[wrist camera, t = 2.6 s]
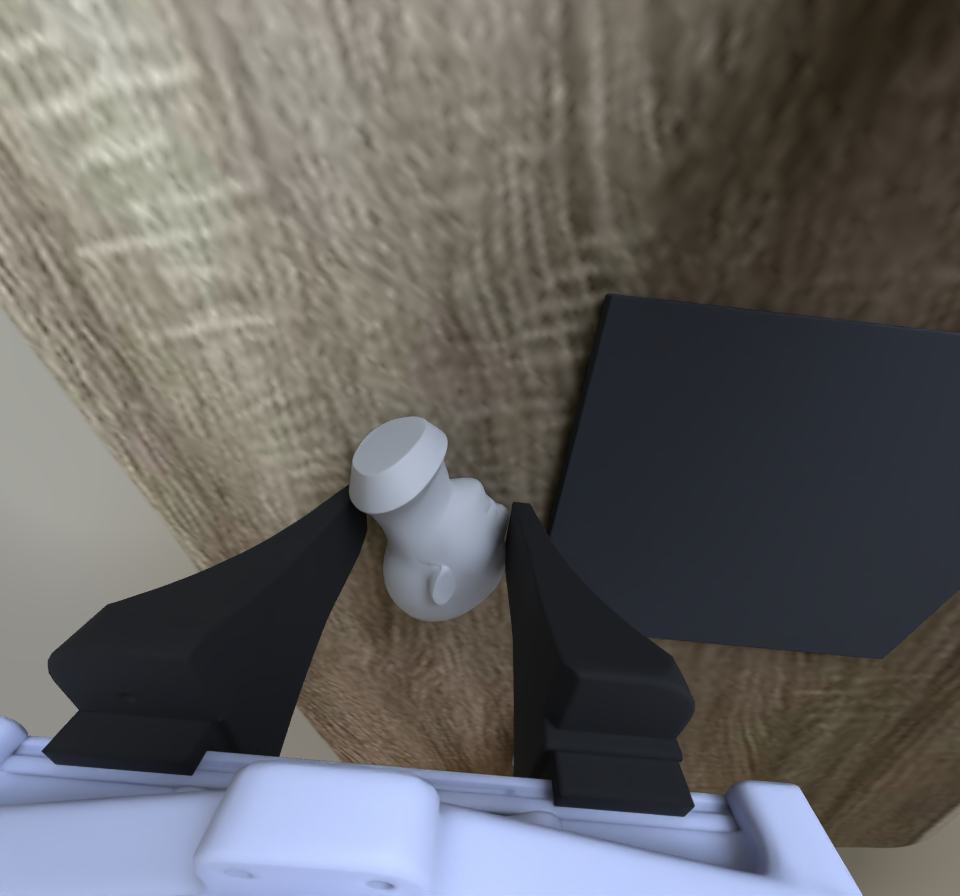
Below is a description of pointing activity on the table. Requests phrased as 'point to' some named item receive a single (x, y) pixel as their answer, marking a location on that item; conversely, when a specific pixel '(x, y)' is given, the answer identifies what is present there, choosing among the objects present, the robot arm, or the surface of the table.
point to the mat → (764, 476)
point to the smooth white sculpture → (428, 521)
